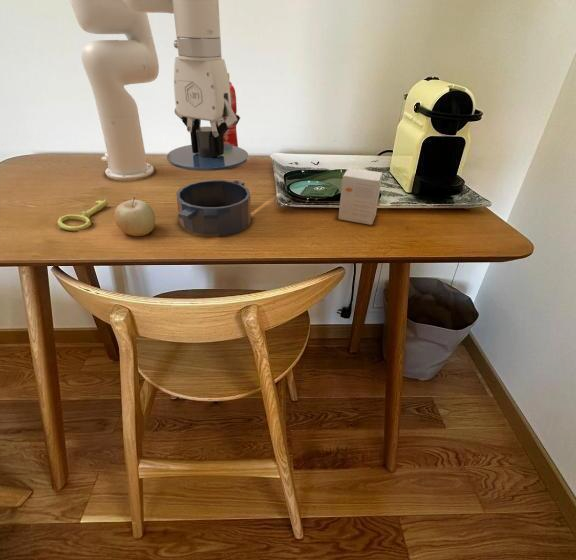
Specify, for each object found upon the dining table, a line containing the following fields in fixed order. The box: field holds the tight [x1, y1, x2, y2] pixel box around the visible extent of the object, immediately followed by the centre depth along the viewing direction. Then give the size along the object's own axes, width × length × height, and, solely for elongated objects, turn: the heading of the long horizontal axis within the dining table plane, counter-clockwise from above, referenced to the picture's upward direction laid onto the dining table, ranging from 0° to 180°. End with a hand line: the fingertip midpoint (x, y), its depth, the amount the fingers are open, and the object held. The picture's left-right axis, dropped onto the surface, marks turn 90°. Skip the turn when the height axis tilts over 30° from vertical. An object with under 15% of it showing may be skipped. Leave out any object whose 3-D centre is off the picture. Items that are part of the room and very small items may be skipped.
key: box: [57, 199, 109, 232], centre depth 86 cm, size 7×12×2 cm, turn 177°
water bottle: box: [217, 72, 241, 147], centre depth 112 cm, size 12×8×25 cm, turn 167°
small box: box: [337, 167, 383, 226], centre depth 89 cm, size 8×6×10 cm
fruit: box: [113, 196, 156, 237], centre depth 80 cm, size 8×7×8 cm
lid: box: [166, 126, 249, 172], centre depth 79 cm, size 16×16×6 cm
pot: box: [176, 179, 252, 238], centre depth 86 cm, size 15×21×6 cm
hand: (208, 152), depth 80 cm, fingers closed on lid, 4 cm apart
